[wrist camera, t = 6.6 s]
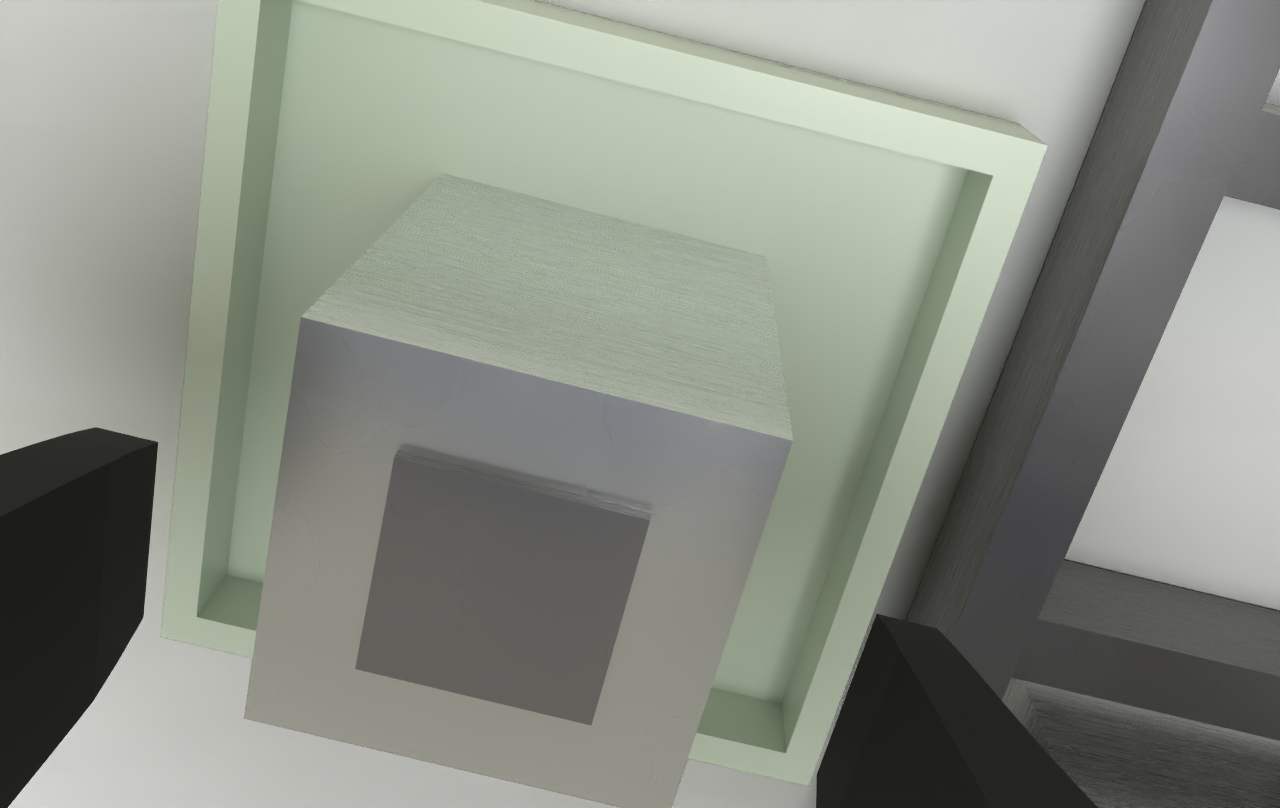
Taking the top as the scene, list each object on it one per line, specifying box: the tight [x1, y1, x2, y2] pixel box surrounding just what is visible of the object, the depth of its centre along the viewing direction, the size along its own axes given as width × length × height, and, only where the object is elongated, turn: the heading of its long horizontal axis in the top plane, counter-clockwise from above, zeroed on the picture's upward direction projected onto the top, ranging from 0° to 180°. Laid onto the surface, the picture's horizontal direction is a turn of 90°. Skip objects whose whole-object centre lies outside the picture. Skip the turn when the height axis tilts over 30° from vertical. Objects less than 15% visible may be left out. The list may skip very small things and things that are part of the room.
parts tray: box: [160, 0, 1048, 786], centre depth 17 cm, size 10×10×2 cm
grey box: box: [244, 173, 793, 808], centre depth 14 cm, size 4×4×6 cm
